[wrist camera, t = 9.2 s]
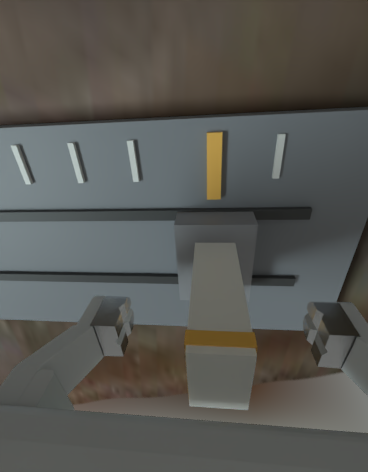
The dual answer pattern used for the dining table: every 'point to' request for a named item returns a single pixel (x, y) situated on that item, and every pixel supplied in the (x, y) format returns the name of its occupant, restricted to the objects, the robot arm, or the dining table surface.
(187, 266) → the fader
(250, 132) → the console
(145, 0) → the dining table surface
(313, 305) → the robot arm
